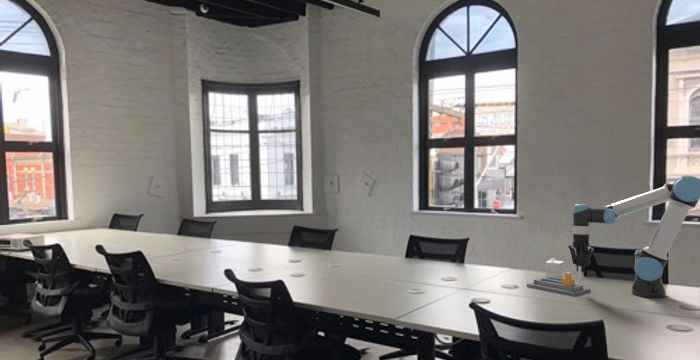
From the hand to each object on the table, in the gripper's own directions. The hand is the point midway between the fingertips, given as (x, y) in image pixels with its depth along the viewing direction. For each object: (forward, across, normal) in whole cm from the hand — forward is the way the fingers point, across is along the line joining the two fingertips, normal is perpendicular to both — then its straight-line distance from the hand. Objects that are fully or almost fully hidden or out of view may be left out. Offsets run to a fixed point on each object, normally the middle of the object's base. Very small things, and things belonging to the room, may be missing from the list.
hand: (580, 278), depth 260 cm
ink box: (+9, +24, -15) cm, 30 cm away
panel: (+8, +13, 0) cm, 15 cm away
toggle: (+6, +7, 0) cm, 10 cm away
